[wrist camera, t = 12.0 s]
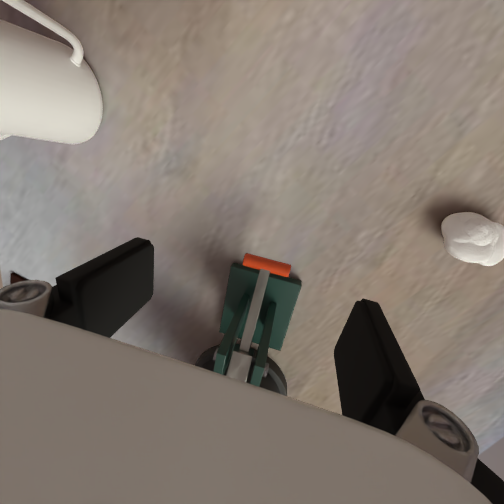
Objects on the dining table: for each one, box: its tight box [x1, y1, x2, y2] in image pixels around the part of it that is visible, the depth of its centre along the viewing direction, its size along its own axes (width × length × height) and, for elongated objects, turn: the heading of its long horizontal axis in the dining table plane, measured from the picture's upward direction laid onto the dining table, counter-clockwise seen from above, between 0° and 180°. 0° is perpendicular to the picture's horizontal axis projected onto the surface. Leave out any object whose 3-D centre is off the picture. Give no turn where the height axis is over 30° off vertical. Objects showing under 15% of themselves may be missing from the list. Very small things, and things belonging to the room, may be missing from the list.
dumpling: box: [441, 212, 504, 266], centre depth 25 cm, size 7×5×4 cm
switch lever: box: [226, 253, 291, 382], centre depth 26 cm, size 13×5×2 cm, turn 168°
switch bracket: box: [213, 263, 302, 387], centre depth 30 cm, size 12×10×13 cm
